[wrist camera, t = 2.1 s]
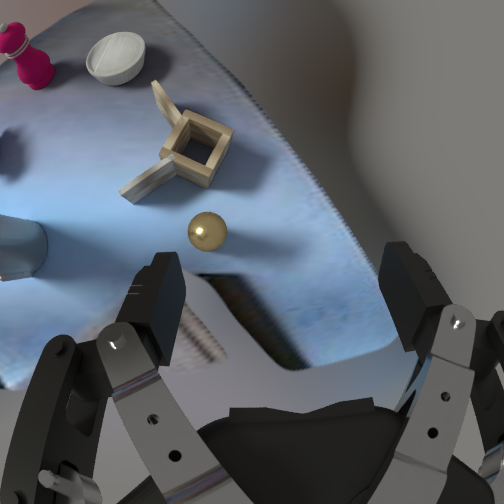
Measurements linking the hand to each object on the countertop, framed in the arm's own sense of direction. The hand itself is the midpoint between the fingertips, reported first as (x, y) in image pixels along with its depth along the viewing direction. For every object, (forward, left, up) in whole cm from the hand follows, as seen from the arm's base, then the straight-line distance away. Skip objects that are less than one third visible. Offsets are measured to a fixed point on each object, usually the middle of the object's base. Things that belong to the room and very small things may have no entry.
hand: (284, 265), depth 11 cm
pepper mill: (+16, +50, -37) cm, 64 cm away
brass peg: (+1, +3, -37) cm, 37 cm away
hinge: (+10, +14, -36) cm, 40 cm away
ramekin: (+23, +33, -37) cm, 55 cm away
